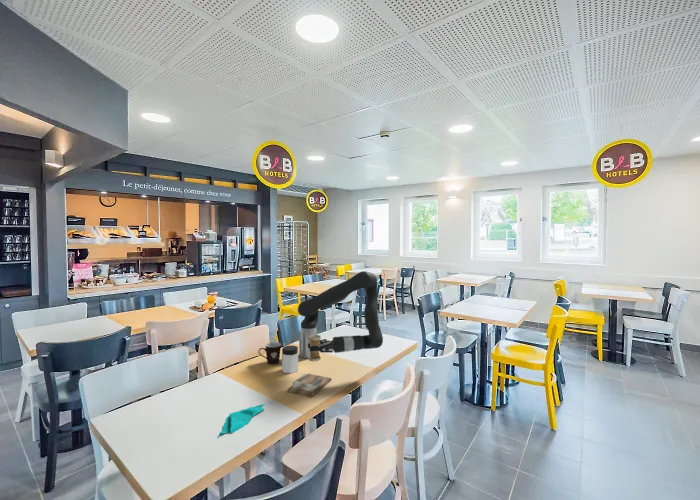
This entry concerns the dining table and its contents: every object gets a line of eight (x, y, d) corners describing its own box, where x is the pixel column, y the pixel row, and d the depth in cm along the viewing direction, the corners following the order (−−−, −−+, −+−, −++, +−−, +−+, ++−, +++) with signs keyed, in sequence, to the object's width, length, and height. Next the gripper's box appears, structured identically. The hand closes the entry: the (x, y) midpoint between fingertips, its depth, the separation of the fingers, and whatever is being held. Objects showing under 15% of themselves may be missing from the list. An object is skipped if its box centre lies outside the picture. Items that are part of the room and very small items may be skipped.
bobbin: (306, 360, 160) (306, 337, 160) (312, 356, 165) (312, 334, 165) (317, 362, 158) (317, 338, 158) (322, 358, 163) (322, 335, 163)
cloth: (257, 402, 145) (257, 396, 145) (279, 411, 137) (279, 406, 137) (200, 429, 124) (200, 423, 124) (222, 443, 116) (222, 436, 116)
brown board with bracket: (287, 391, 154) (287, 383, 153) (308, 375, 171) (308, 368, 171) (312, 397, 149) (312, 388, 148) (331, 380, 166) (331, 373, 166)
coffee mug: (282, 359, 193) (283, 342, 192) (278, 365, 184) (278, 347, 184) (263, 359, 194) (263, 341, 194) (257, 364, 185) (257, 346, 185)
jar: (281, 367, 181) (281, 345, 181) (296, 366, 184) (296, 344, 183) (282, 374, 173) (283, 351, 172) (298, 372, 175) (299, 349, 175)
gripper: (339, 332, 173) (306, 335, 167) (347, 340, 159) (311, 344, 154) (339, 347, 173) (306, 350, 168) (347, 356, 159) (311, 360, 154)
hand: (309, 347), depth 161 cm, fingers closed on bobbin, 4 cm apart
